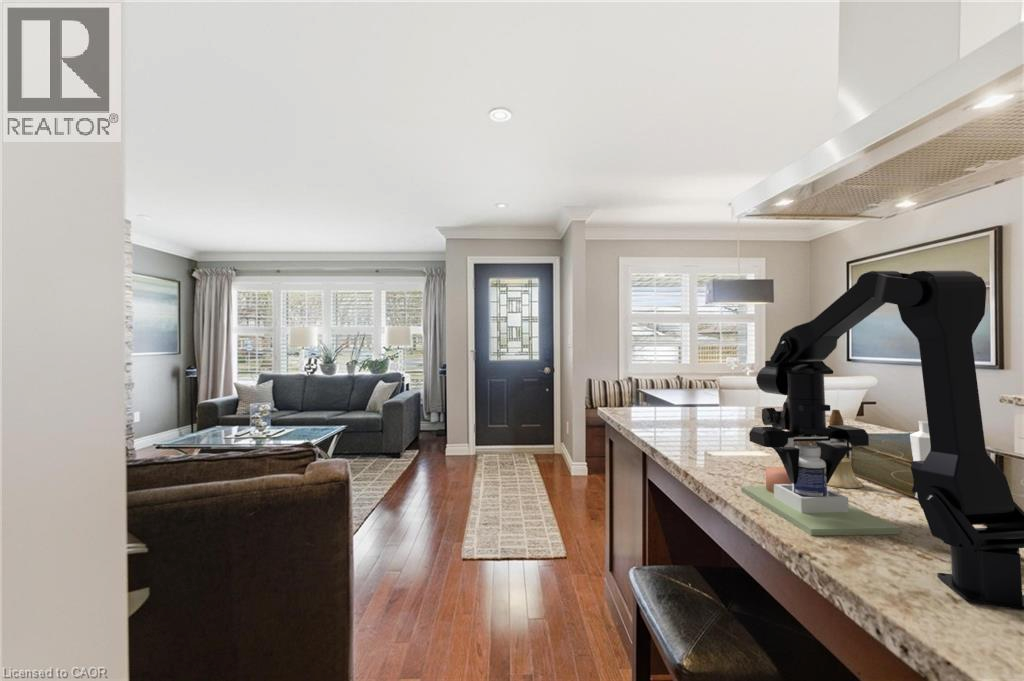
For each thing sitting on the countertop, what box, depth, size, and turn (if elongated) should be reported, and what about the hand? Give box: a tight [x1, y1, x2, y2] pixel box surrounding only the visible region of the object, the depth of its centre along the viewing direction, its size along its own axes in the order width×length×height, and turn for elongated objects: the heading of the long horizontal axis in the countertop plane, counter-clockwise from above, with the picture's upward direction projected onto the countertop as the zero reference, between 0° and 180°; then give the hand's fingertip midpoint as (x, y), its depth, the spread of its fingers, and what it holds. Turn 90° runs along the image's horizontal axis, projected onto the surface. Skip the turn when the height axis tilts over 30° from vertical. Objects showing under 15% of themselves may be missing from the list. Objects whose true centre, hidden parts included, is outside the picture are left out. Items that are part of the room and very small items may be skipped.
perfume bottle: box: [909, 420, 931, 499], centre depth 85 cm, size 5×4×15 cm
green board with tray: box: [740, 466, 901, 536], centre depth 81 cm, size 22×14×5 cm, turn 179°
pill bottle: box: [792, 444, 828, 497], centre depth 81 cm, size 5×5×10 cm
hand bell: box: [827, 409, 864, 489], centre depth 97 cm, size 8×8×16 cm
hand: (809, 483), depth 81 cm, fingers closed on pill bottle, 5 cm apart
